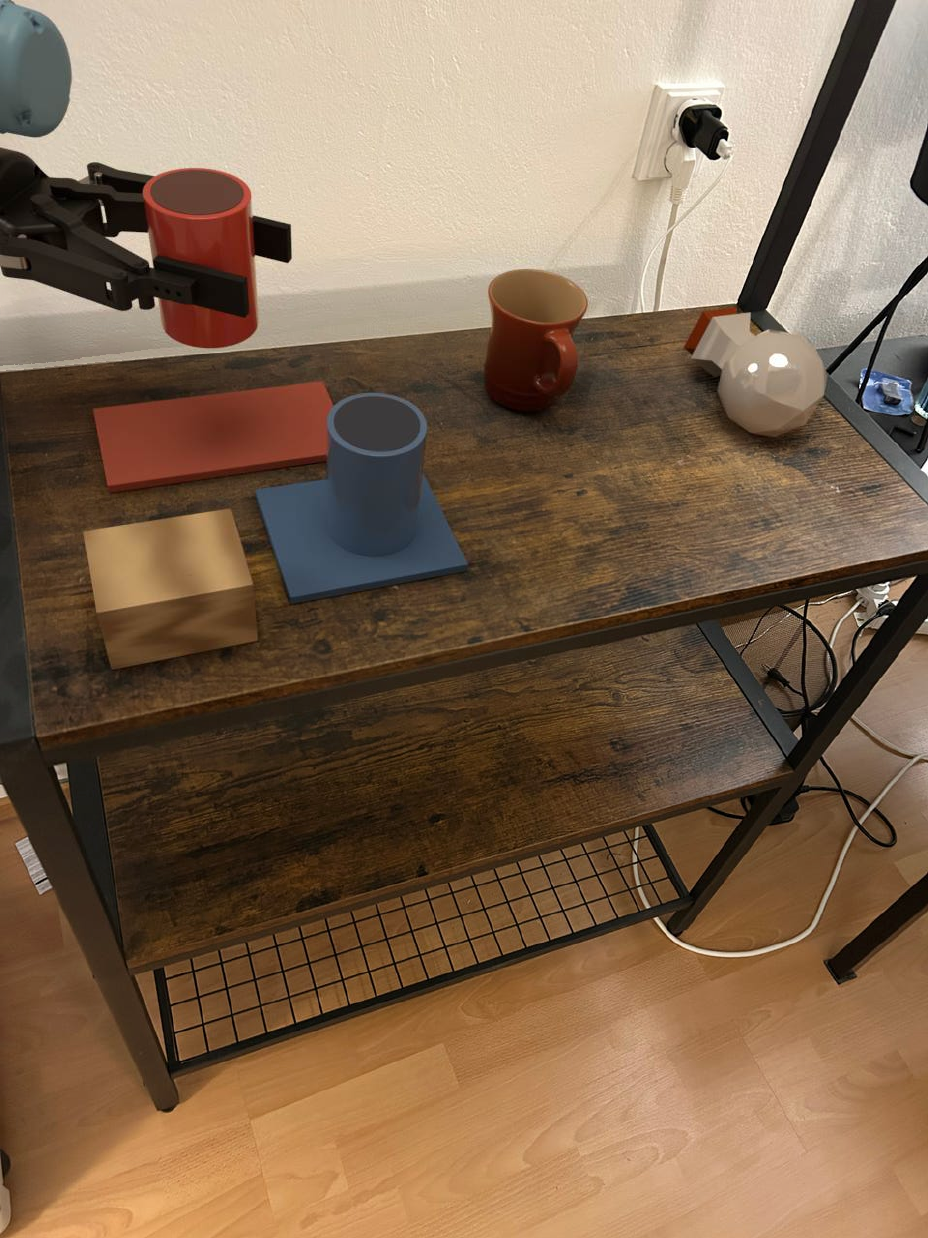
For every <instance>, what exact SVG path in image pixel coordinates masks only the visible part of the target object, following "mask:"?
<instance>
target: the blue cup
mask: <svg viewBox="0 0 928 1238" xmlns="http://www.w3.org/2000/svg"><path fill="white" fill-rule="evenodd" d="M333 406H334V407H333V408H332V409H331V410H330V412H329V414H328V417H327V433H326V461H325V463H326V464H325V465H326V466H325V467H326V468H325V470H326V471H325V473H326V474H325V475H326V476H325V477H326V478H325V479H326V527H327V531H328V533H329V535H330V536H331V538H332V539H333V540H334V541H335V542H336V543H337V544H338V545H339V546H340V547H342V548H344V549H345V550H347V551H349V552H352V553H355V554H359V555H364V556H385V555H389V554H393V553H395V552H398V551H400V550H402V549H403V548H405V547H406V546H407V545H408V544H410V542H411V541H412V540H413V538H414V537H415V534H416V531H417V525H418V515H419V505H420V495H421V486H422V476H423V473H424V466H425V455H426V447H427V446H426V445H427V436H428V422H427V419H426V416H425V415H424V414H423V412H422V411H421V410H420V409H419V408H418V407H417V406H416V405H414V404H413V403H412V402H410V401H408V400H406V399H404V398H402V397H399V396H396V395H393V394H389V393H383V392H365V393H364V392H363V393H357V394H354V395H350V396H348V397H345V398H343V399H341V400H339V401H338V402H337V403H336V404H334V405H333Z"/></svg>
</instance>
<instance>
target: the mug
mask: <svg viewBox="0 0 928 1238" xmlns="http://www.w3.org/2000/svg"><path fill="white" fill-rule="evenodd" d="M487 295H488V301H489V306H490V307H489V308H490V313H491V327H490V334H489V336H488V337H489V338H488V342H487V348H486V354H485V361H484V364H483V371H484V388H485V390H486V392H487V394H488V395H489V397H490V398H491V399H492V400H493V401H495V402H496V403H498V404H499V405H501V406H502V407H505V408H507V409H510V410H513V411H516V412H535V411H539V410H543V409H545V408H548V407H549V406H550V405H551V404H553V403H554V402H555V400H556V399H557V397H562V396H564V395H565V394H566V393H567V392H568V391H569V390H570V389H571V387H572V385H573V383H574V381H575V378H576V374H577V370H578V366H579V352H578V349H577V346H576V343H575V342H574V340H573V335H574V333H575V331H576V330H577V327H578V325H579V323H580V322H581V321H582V319H583V317H584V315H585V314H586V312H587V310H588V305H589V302H588V301H589V300H588V298H587V295H586V294H585V292H584V290H583V289H582V288H581V287H580V286H579V285H577V284H576V283H575V282H574V281H573V280H571V279H569V278H567V277H565V276H563V275H561V274H557V273H555V272H552V271H547V270H542V269H535V268H521V269H520V268H518V269H512V270H507V271H505V272H502V273H500V274H498V275H497V276H495V277H494V278H493V279H492V280H491V281H490V283H489V285H488V289H487Z"/></svg>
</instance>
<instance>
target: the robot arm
mask: <svg viewBox="0 0 928 1238" xmlns="http://www.w3.org/2000/svg"><path fill="white" fill-rule="evenodd" d="M72 71H73V70H72V63H71V57H70V53H69V49H68V46H67V43H66V41H65V38H64V35H63V34H62V33H61V31H60V30H59V28H58V26H57V25H56V24H55V23H54V21H53V20H52V19H50V17H48V16H47V15H46V14H44V13H42V12H41V11H38V10H35V9H32V8H30V7H26V6H23V5H19V4H16V3H15V2H14V1H13V0H0V134H1V135H6V133H7V134H12V135H17V136H23V137H28V138H35V139H36V138H37V139H38V138H42V137H46V136H48V135H50V134H51V133H52V132H54V131H55V130H56V129H57V128H58V127H59V126H60V125H61V123H62V121H63V120H64V118H65V116H66V113H67V111H68V108H69V104H70V101H71V98H70V95H71V89H72V83H73V72H72ZM86 170H87V175H88V176H85V177H82V178H80V179H79V180H77V179H75V178H72V177H53V176H49V175H47V174H46V173H45V171H43V170H42V169H41V167H40V166H38V164H37V163H36V161H34V160H33V158H31V157H30V156H29V155H27V154H25V153H23V152H21V151H18V150H13V149H9V148H5V147H0V270H1V274H2V276H3V277H4V278H9V279H10V278H11V279H17V280H18V279H19V280H25V281H26V280H27V281H34V282H37V283H39V284H42V285H45V286H47V287H51V288H54V289H57V290H60V291H62V292H64V293H68V294H71V295H74V296H76V297H79V298H82V299H84V300H87V301H91V302H93V303H96V304H99V305H102V306H104V307H108V308H111V309H113V310H116V311H120V312H127V311H129V310H131V309H133V302H134V301H135V300H137V302H138V308H139V309H140V310H143V311H148V310H152V309H154V308H155V307H156V302H155V301H156V300H155V298H157V299H158V298H161V299H165V300H169V301H173V302H177V303H180V304H184V305H196V306H200V307H204V308H208V309H212V310H216V311H220V312H224V313H228V314H231V315H235V316H239V317H243V318H246V316H247V315H248V314H249V297H248V282H247V277H245V276H241V275H237V274H233V273H229V272H225V271H221V270H217V269H213V268H209V267H205V266H201V265H197V264H193V263H189V262H185V261H180V260H176V259H172V258H168V257H164V256H160V255H157V256H156V257H155V258H154V259H153V263H152V267H150V262H149V261H148V260H147V259H146V258H143V257H141V256H140V255H138V254H136V253H134V252H133V251H131V250H129V249H127V248H125V247H124V246H122V245H120V244H118V243H116V242H115V241H113V240H111V239H109V238H117V237H118V236H119V234H120V233H122V232H123V233H142V234H143V233H144V234H148V228H147V221H146V214H145V207H144V200H143V194H142V193H143V188H144V186H145V185H146V183H147V182H148V181H149V180H150V179H152V178H153V177H155V176H156V175H151V174H145V173H140V172H139V173H137V172H133V171H127V170H121V169H117V168H114V167H112V166H109V165H106V164H104V163H101V162H99V161H94V162H89V163H87V164H86ZM102 207H103V209H104V215H103V210H102ZM104 216H105V221H106V222H104ZM253 229H254V246H255V257H256V256H257V257H260V258H264V259H268V260H273V261H276V262H281V263H285V264H289V263H290V262H291V261H292V259H293V253H292V224H291V223H287V222H282V221H278V220H275V219H270V218H266V217H262V216H258V215H254V214H253ZM153 266H154V268H153ZM107 283H109V287H110V289H108V285H107Z"/></svg>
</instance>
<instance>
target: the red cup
mask: <svg viewBox="0 0 928 1238" xmlns="http://www.w3.org/2000/svg"><path fill="white" fill-rule="evenodd" d="M154 176H155V177H153V178H152V179H150V180H149V181H148V182H147V183H146V185H145V186H144V188H143V193H142V194H143V200H144V207H145V214H146V221H147V228H148V233H147V236H148V240H149V248H150V255H151V262H152V264H153V259H154V258H155V257H156V256H157V255H160V256H164V257H168V258H172V259H176V260H180V261H185V262H189V263H193V264H197V265H201V266H205V267H209V268H213V269H217V270H221V271H225V272H229V273H233V274H237V275H241V276H245V277H247V282H248V297H249V314H248V315H247V316H246V318H243V317H239V316H235V315H231V314H228V313H224V312H220V311H216V310H212V309H208V308H204V307H200V306H196V305H184V304H180V303H177V302H173V301H169V300H165V299H161V298H157V303H158V310H159V318H160V324H161V328H162V329H163V331H164V332H165V333H166V335H167V336H168V337H170V338H171V339H172V340H174V341H176V342H178V343H180V344H183V345H185V346H188V347H192V348H199V349H223V348H228V347H232V346H236V345H238V344H240V343H243V342H245V341H246V340H248V339H250V338H251V337H252V336H253V335H254V334H255V333H256V331H257V329H258V327H259V323H260V316H259V301H258V298H259V297H258V285H257V282H258V281H257V268H256V265H257V264H256V255H255V246H254V229H253V215H254V212H253V197H252V191H251V188H250V187H249V185H248V184H247V183H246V182H244V181H243V180H242V179H240V178H239V177H238V176H236V175H234V174H231V173H228V172H225V171H221V170H217V169H213V168H204V167H203V168H202V167H186V168H185V167H184V168H176V169H171V170H168V171H164V172H161V173H159V174H157V175H154ZM152 268H154V266H153V265H152Z"/></svg>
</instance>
